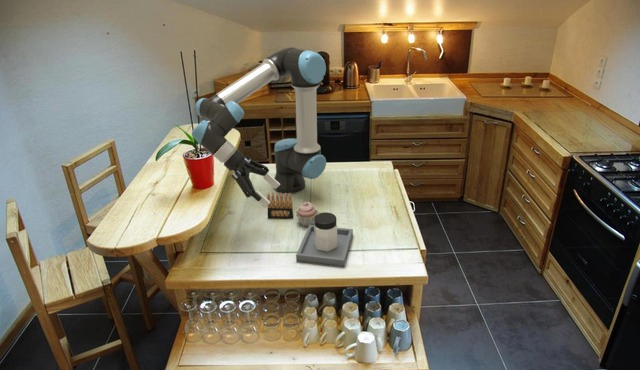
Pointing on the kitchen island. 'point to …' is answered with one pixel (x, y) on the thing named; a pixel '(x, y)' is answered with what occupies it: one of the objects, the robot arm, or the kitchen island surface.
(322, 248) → the jar
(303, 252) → the tray
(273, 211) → the ammunition clip
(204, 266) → the kitchen island surface
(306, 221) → the cupcake
